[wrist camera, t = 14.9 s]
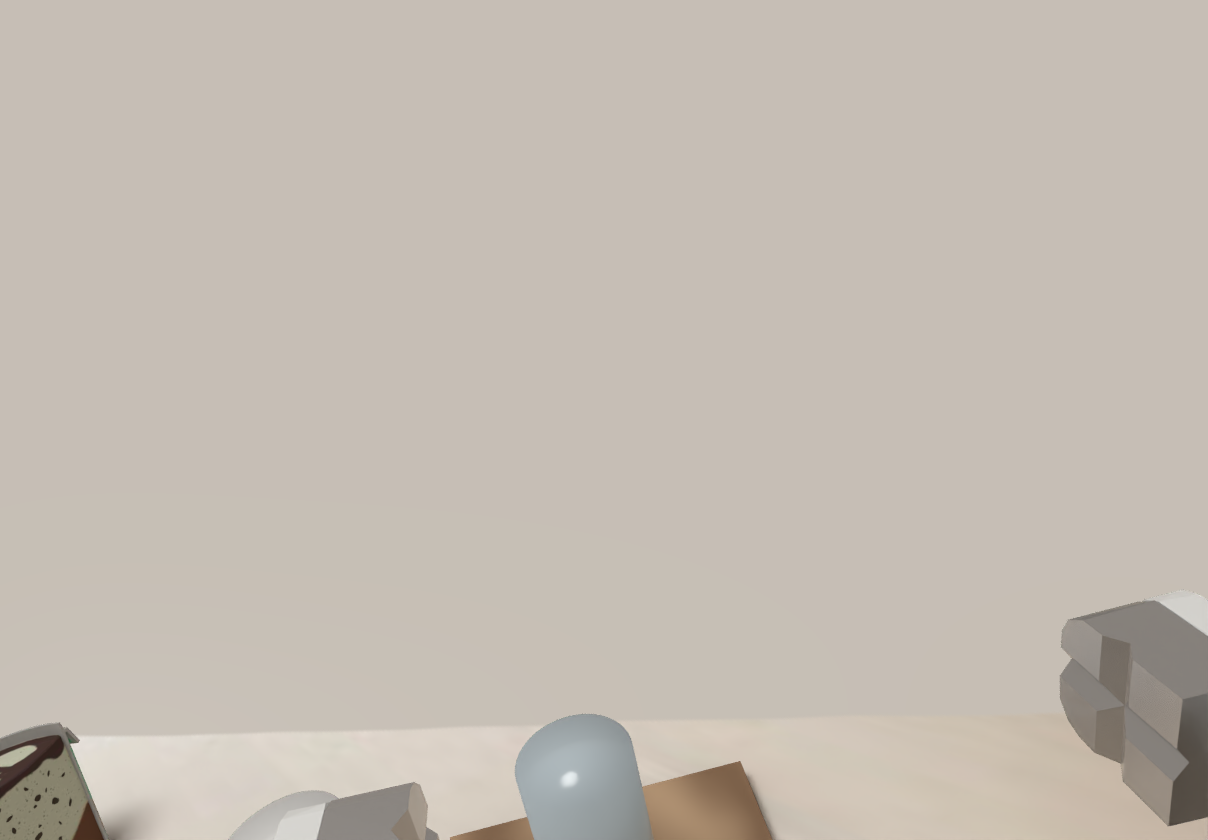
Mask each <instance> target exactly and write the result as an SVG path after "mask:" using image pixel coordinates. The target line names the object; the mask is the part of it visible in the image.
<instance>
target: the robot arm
mask: <svg viewBox="0 0 1208 840" xmlns="http://www.w3.org/2000/svg"><path fill="white" fill-rule="evenodd" d="M1061 647H1062V649H1063V650H1064V651H1065V652H1066V653H1067V654H1068V655H1069V656H1070V657H1071V658H1072V659H1071V661H1070V662H1069V664H1068V665H1067V667H1066V668H1065V669H1064V671H1063V672H1062V674H1061V675H1060V699H1061V702H1062V705H1063V707H1064V710H1065V713H1066V716H1067V718H1068V721H1069V722H1070V724H1071V725H1072V727H1073V728H1074V730H1075V731H1076V733H1077V734H1078V736H1079V737H1080V738H1081V739H1082V740H1083V741H1084V742H1085V743H1086V744H1087V745H1088V746H1089V747H1090V748H1091V750H1092V751H1093V752H1094V753H1097V754H1099V755H1101V756H1104V757H1106V758H1109V759H1111V760H1113V761H1116V762H1118V763H1120V764H1121V771H1122V778H1123V782H1124V783H1125V784H1126V785H1127V786H1128V787H1129V788H1130V789H1131V790H1132V791H1133V792H1134V793H1135V794H1136V795H1137V796H1138V797H1139V798H1140V799H1141V800H1142V801H1143V802H1144V803H1145V804H1146V805H1147V806H1148V807H1149V808H1150V809H1151V810H1152V811H1153V812H1154V813H1155V814H1156V815H1157V816H1158V817H1159V818H1160V819H1161V820H1162V821H1163V822H1164V823H1165V824H1166V825H1167V826H1172V825H1177V824H1181V823H1185V822H1189V821H1193V820H1198V819H1202V818H1206V817H1208V600H1207V599H1205V598H1204V597H1202V596H1201V595H1199V594H1197V593H1194V592H1190V591H1186V590H1179V591H1175V592H1171V593H1167V594H1164V595H1160V596H1156V597H1152V598H1149V599H1145V600H1143V601H1142V602H1136V603H1131V604H1128V605H1124V606H1120V607H1116V608H1112V609H1108V610H1104V611H1101V612H1096V613H1092V614H1089V615H1085V616H1081V617H1077V618H1073V619H1070V620H1068V621H1067V623H1066V625H1065V626H1064V628H1063V630H1062V640H1061ZM427 809H428V805H427V802H426V800H425V797H424V795H423V792H422V790H421V787H420V785H419V784H417V783H415V782H413V783H408V784H404V785H399V786H395V787H390V788H386V789H381V790H377V791H372V792H368V793H363V794H359V795H354V796H350V797H345V798H341V799H336V800H332V801H331V802H328V803H323V804H319V805H314V806H309V807H305V808H300V809H296V810H291V811H288V812H287V813H286V814H285V816H284V817H283V818H282V819H281V821H280V823H279V824H278V828H277V831H276V834H275V837H274V840H439V837H438V834H437V833H435V832H433V831H432V830H430V829H429V828H427V827H426V822H427Z"/></svg>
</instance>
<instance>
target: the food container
mask: <svg viewBox="0 0 1208 840" xmlns="http://www.w3.org/2000/svg"><path fill="white" fill-rule="evenodd" d="M79 741H80V740H79V739H78V738H77V737H76V736H75V735H74V734H73V733H72V732H71V731H70V730H69V729H68V728H67V727H66V728H63V727H62V725H61V724H60V723H49V724H43V725H39V726H34V727H31V728H27V729H24V730H20V731H17V732H15V733H12V734H9V735H6V736H4V737H1V738H0V840H109V838H108V835H107V833H106V830H105V828H104V826H103V823H102V821H101V818H100V816H99V813H98V811H97V809H96V806H95V804H94V801H93V799H92V796H91V794H90V791H89V789H88V787H87V784H86V782H85V779H84V777H83V774H82V772H81V770H80V767H79V765H78V762H77V760H76V757H75V755H74V753H73V750H72V748H71V745H70V744H71V743H78V742H79Z"/></svg>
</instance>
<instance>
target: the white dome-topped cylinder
mask: <svg viewBox="0 0 1208 840" xmlns="http://www.w3.org/2000/svg"><path fill="white" fill-rule="evenodd" d="M336 799H338V798H337V797H336V796H334V795H333V794H331V793H328V792H324V791H303V792H298V793H294V794H291V795H288V796H285V797H283V798H280V799H278V800H276V801H274V802H272V803H270V804H268V805H267V806H265V807H263V808H262V809H260V810H259V811H257V812H256V813H255V814H253V815H252V816H251V817H249V818H248V819H247V820H246V821H245V822H244V823H243V824H242V825H241V826H240V827H239V828H238V829H237V830H236V831H235V832H234V833H233V834H232V836H231V837H230V838H229V839H228V840H274V837H275V834H276V831H277V828H278V824H279V823H280V821H281V819H282V818H283V817H284V816H285V814H286V813H287V812H288V811H291V810H296V809H300V808H305V807H309V806H314V805H319V804H323V803H328V802H331V801H332V800H336Z"/></svg>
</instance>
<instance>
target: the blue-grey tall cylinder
mask: <svg viewBox="0 0 1208 840" xmlns="http://www.w3.org/2000/svg"><path fill="white" fill-rule="evenodd" d="M515 777H516V781H517V785H518V788H519V791H520V794H521V798H522V801H523V804H524V808H525V811H526V814H527V818H528V821H529V824H530V828H531V831H532V834H533V837H534V840H654V837H653V833H652V828H651V824H650V820H649V815H648V811H647V806H646V802H645V797H644V793H643V789H642V784H641V780H640V775H639V771H638V767H637V762H636V758H635V753H634V749H633V745H632V741H631V738H630V736H629V734H628V732H627V731H626V730H625V728H624V727H623V726H621V725H620V724H619V723H618V722H616V721H614V720H612V719H610V718H608V717H605V716H601V715H595V714H580V715H573V716H568V717H565V718H562V719H559V720H556V721H554V722H552V723H550V724H548V725H546V726H545V727H543V728H541V729H540V730H539V731H538V732H536V733H535V734H534V735H533V736H532V737H531V738H530V739H529V740H528V741H527V742H526V743H525V745H524V746H523V748H522V749H521V751H520V753H519V755H518V758H517V761H516V766H515Z"/></svg>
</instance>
